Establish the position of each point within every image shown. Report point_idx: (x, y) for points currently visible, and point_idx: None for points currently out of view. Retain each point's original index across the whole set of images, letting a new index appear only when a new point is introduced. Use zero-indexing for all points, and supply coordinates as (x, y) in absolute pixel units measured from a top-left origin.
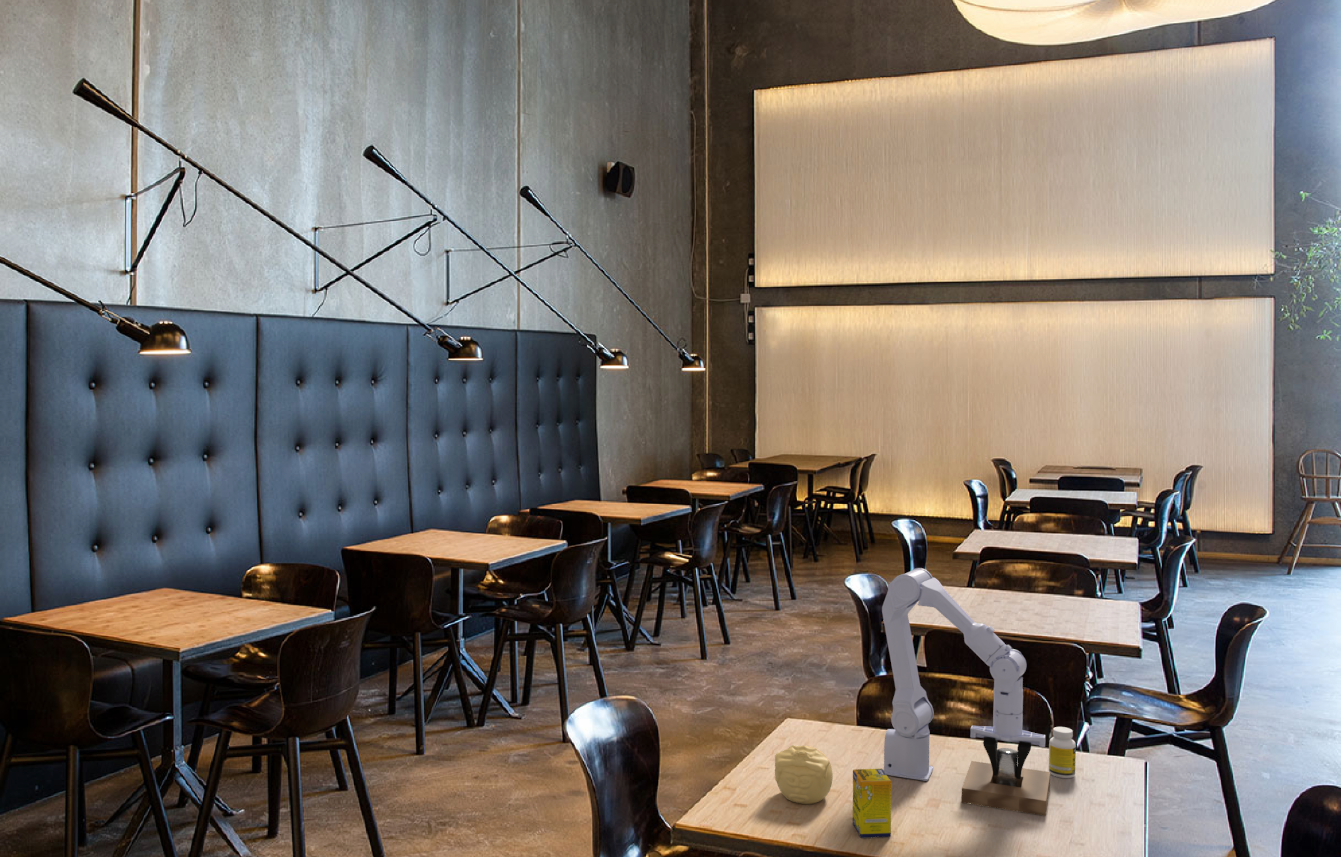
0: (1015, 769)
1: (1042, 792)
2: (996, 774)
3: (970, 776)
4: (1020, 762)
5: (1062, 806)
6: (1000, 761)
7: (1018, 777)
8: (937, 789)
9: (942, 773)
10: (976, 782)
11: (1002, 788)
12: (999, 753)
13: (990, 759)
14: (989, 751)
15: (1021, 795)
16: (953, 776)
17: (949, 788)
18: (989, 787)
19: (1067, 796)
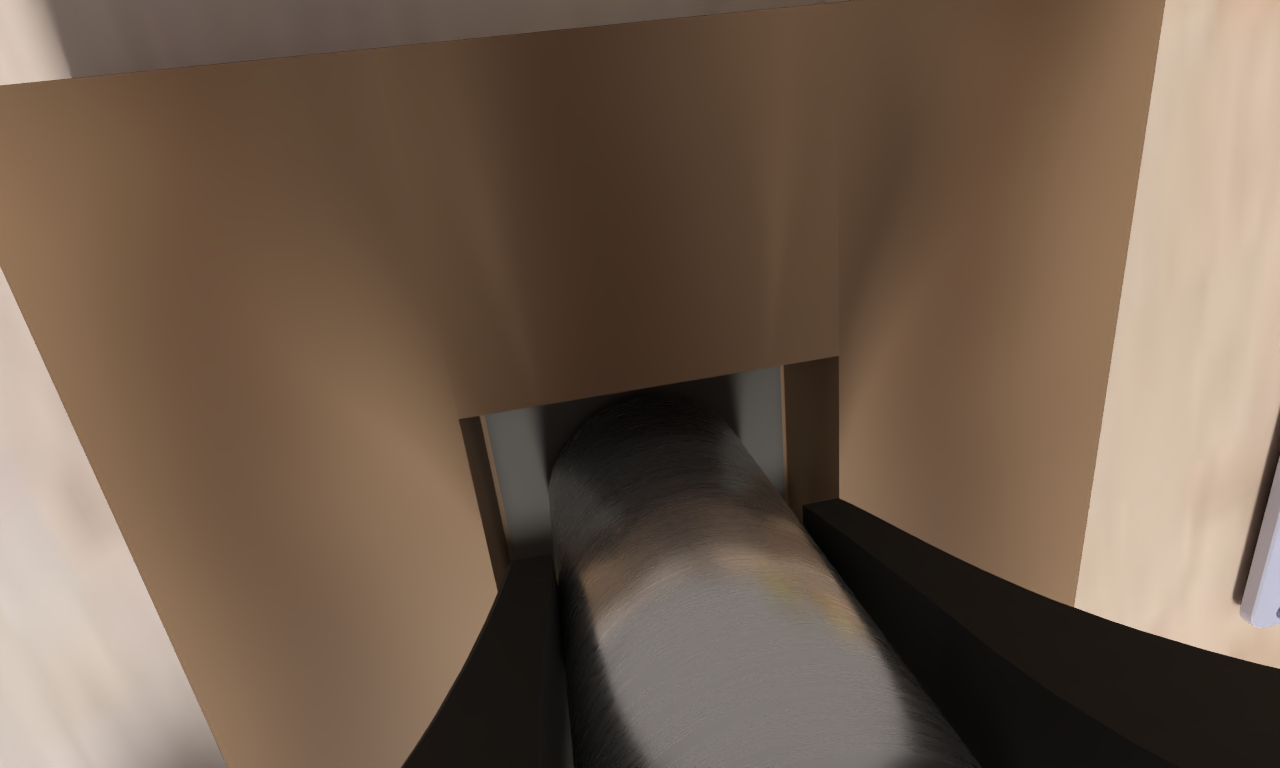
0: (578, 634)
1: (140, 410)
2: (810, 509)
3: (1059, 421)
4: (479, 734)
5: (52, 486)
6: (854, 624)
7: (526, 567)
8: (1228, 239)
9: (1169, 582)
10: (992, 281)
11: (669, 256)
12: (966, 759)
13: (1032, 595)
14: (1219, 681)
15: (360, 126)
16: (1092, 575)
17: (1127, 320)
18: (830, 197)
19: (127, 725)
